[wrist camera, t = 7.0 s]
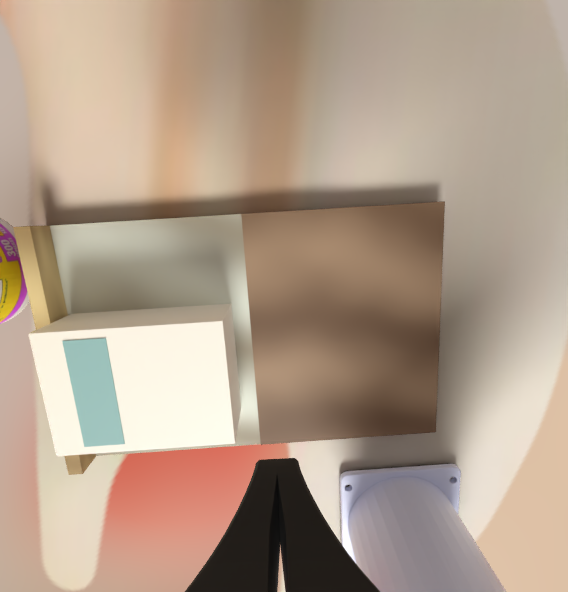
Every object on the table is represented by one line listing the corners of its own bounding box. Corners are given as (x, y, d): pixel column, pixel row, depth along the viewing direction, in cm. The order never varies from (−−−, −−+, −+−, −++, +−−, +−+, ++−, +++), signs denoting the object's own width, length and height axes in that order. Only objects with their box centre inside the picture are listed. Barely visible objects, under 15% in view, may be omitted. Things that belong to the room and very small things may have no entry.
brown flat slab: (428, 422, 23) (447, 447, 20) (91, 446, 22) (68, 474, 20) (436, 202, 20) (459, 199, 17) (45, 226, 19) (12, 227, 17)
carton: (241, 407, 21) (234, 444, 17) (92, 417, 21) (55, 457, 17) (231, 303, 20) (222, 321, 16) (71, 313, 19) (27, 334, 16)
